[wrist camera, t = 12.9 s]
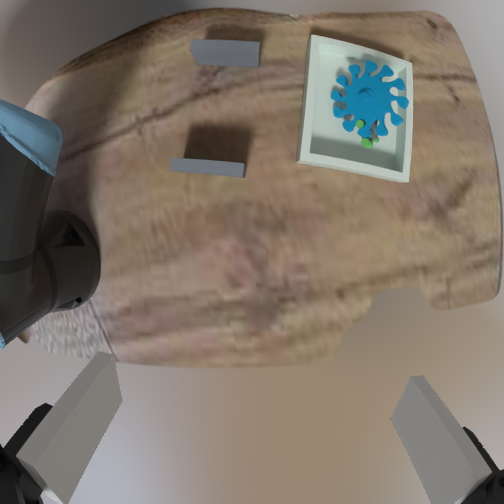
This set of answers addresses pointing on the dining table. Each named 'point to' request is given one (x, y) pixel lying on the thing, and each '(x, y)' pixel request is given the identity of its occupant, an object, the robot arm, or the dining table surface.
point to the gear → (369, 102)
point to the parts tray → (330, 127)
